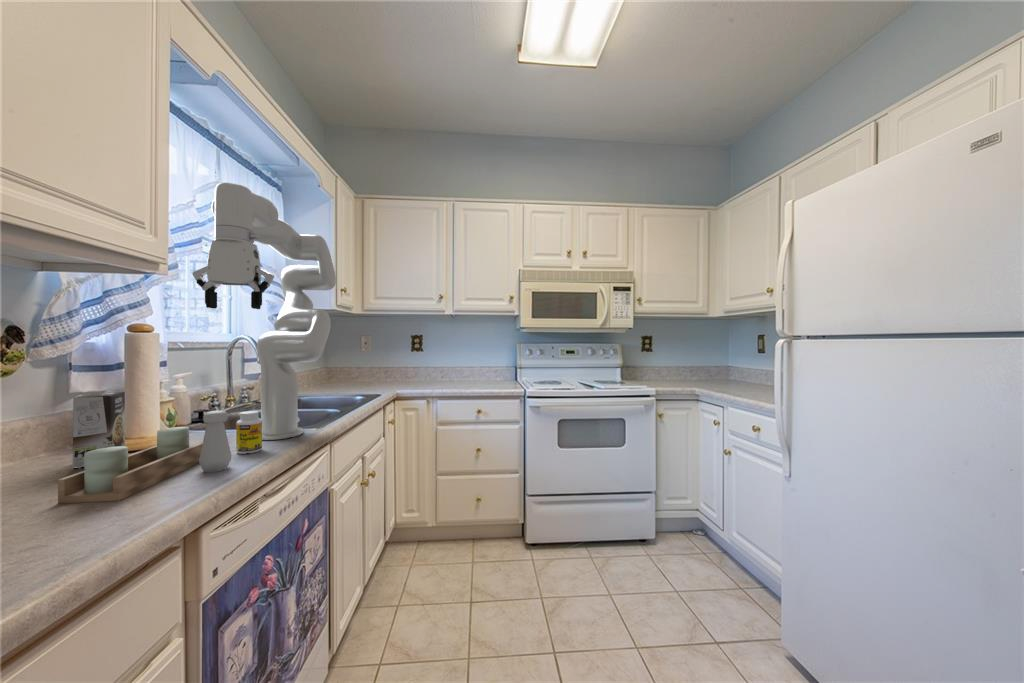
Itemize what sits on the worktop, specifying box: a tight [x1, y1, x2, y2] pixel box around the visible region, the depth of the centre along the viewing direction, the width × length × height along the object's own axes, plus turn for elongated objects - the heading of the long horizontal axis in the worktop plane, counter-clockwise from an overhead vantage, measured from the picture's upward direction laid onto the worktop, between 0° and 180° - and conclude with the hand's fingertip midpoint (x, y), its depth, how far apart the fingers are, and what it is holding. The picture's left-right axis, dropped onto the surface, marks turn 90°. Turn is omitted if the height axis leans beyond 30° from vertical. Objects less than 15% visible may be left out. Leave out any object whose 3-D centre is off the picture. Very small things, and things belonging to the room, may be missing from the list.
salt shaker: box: [198, 410, 233, 473], centre depth 86 cm, size 6×6×13 cm
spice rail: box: [57, 426, 203, 504], centre depth 80 cm, size 24×10×8 cm, turn 8°
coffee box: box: [72, 391, 126, 469], centre depth 91 cm, size 9×6×16 cm
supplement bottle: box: [235, 410, 263, 455], centre depth 100 cm, size 6×6×10 cm
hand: (233, 308), depth 93 cm, fingers open, 9 cm apart
